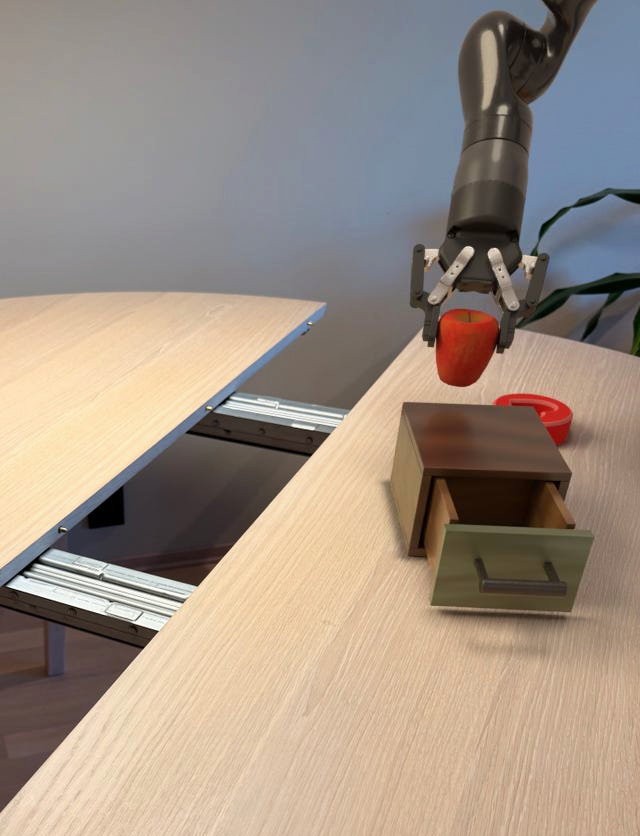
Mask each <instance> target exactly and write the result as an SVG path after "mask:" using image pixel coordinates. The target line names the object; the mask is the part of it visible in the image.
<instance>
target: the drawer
mask: <svg viewBox="0 0 640 836" xmlns="http://www.w3.org/2000/svg"><path fill="white" fill-rule="evenodd" d="M576 526H577V523H576V521H575V519H574V518H573V516H572V514H571V512H570V510H569V509H568V507H567V505H566V503H565V501H563V499H562V497H561V496H560V494H559V492H558V490H557V488H556V486H555V485H554V483H553V481H551V480H527V479H502V478H478V477H453V476H432V477H431V482H430V488H429V493H428V498H427V503H426V509H425V514H424V519H423V524H422V530H421V536H422V540H423V543H424V547H425V550H426V554H427V556H426V557H427V561H428V564H429V568H430V572H431V576H432V580H431V586H430V590H429V596H428V601H429V605H430V607H431V606H432V607H448V608H450V607H451V608H470V609H488V610H489V609H492V610H510V611H511V610H513V611H530V612H531V611H534V612H552V613H553V612H554V613H572V611H573V607H574V604H575V602H576V601H575V600H576V598H577V594H578V591H579V587H580V585H581V581H582V579H583V575H584V573H585V572H584V571H585V569H586V565H587V562H588V559H589V555H590V553H591V549H592V547H593V543H594V539H595V535H594V533H593V532H592V530H590V529H576Z"/></svg>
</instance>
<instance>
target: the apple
mask: <svg viewBox="0 0 640 836" xmlns="http://www.w3.org/2000/svg"><path fill="white" fill-rule="evenodd" d="M499 328H500V322H499V320H497V318H496V317H495V316H493V315H491V314H489V313H487V312H484V311H482V310H476V309H470V308H469V309H468V308H453V309H449V310H447V311H446V312H444V313H443V314H442V315H440V316H439V320H438V326H437V333H436V339H435V364H436V370H437V375H438V378H439V381H441V382H442V383H443V384H446V385H448V386H452V387H457V388H467V387H470V386H472V385H474V384H476V383H477V382H478V381H479V380H480V378H481V377H482V375H483V373H484V372H485V370H486V369H487V367H488V366H489V363H490V362H491V359H492V358H493V355H494V353H495V352H496V349H497V343H498V338H499Z"/></svg>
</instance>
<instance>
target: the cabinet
mask: <svg viewBox="0 0 640 836" xmlns="http://www.w3.org/2000/svg"><path fill="white" fill-rule="evenodd" d="M432 476H453V477H478V478H502V479H527V480H551V481H553V483H554V485H555V486H556V488H557V490H558V492H559V494H560V496H561V497H562V499H563V501H564V502H565V501H566V497H567V494H568V491H569V488H570V487H569V486H570V483H571V480H572V476H573V472H572V470H571V468H570V466H569V465H568V463H567V461H566V460H565V458H564V456H563V454H562V453H561V451H560V450H559V448H558V445H556V444H555V443H554V441H553V439H552V438H551V436H550V434H549V432H548V431H547V429H546V427H545V426H544V424H543V422H542V421H541V419H540V417H539V415H538V414H537V412H536V410H535V409H534V407H531V406H503V405H492V404H476V403H475V404H473V403H472V404H471V403H449V402H447V403H446V402H445V403H443V402H423V401H422V402H421V401H403V402H402V405H401V412H400V417H399V424H398V430H397V436H396V443H395V449H394V455H393V460H392V467H391V474H390V479H389V486H390V490H391V491H390V492H391V495H392V499H393V502H394V505H395V506H394V507H395V510H396V514H397V518H398V523H399V526H400V530H401V534H402V539H403V542H404V546H405V550H406V554H407V557H427V554H426V550H425V547H424V543H423V540H422V536H421V530H422V524H423V519H424V514H425V509H426V503H427V498H428V493H429V488H430V482H431V477H432Z"/></svg>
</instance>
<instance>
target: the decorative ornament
mask: <svg viewBox="0 0 640 836" xmlns="http://www.w3.org/2000/svg"><path fill="white" fill-rule="evenodd" d="M491 405H503V406H531V407H534V409H535V410H536V412H537V414H538V415H539V417H540V419H541V421H542V422H543V424H544V426H545V427H546V429H547V431H548V432H549V434H550V436H551V438H552V439H553V441H554V443H555V444H556V446H560V445H561V444H563V443H565V442H566V441H567V439H568V437H569V432H570V429H571V425H572V422H573V417H574V413H573V411H572V409H571V408H570V407H569V406H568V405H567V404H566V403H564V402H562V401H561V400H558V399H555V398H553V397H549V396H545V395H541V394H535V393H525V392H524V393H521V392H519V393H508V394H504V395H501V396H499V397H497V398H495V399H494V400H493V401H492V403H491Z"/></svg>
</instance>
